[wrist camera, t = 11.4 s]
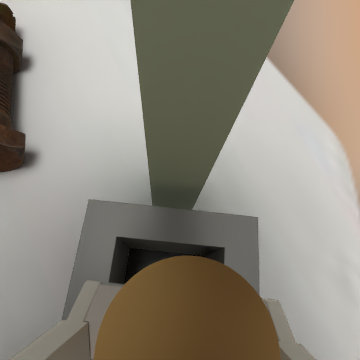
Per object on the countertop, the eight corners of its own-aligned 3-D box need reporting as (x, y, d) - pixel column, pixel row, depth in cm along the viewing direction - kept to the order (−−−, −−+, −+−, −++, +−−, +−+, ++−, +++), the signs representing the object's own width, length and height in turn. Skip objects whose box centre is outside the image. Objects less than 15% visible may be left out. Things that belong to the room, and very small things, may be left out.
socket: (82, 365, 16) (40, 415, 10) (109, 221, 19) (88, 199, 13) (226, 377, 16) (261, 431, 10) (229, 233, 19) (257, 217, 14)
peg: (131, 345, 13) (72, 468, 5) (142, 263, 15) (113, 247, 6) (208, 352, 13) (285, 487, 5) (212, 271, 15) (277, 264, 6)
